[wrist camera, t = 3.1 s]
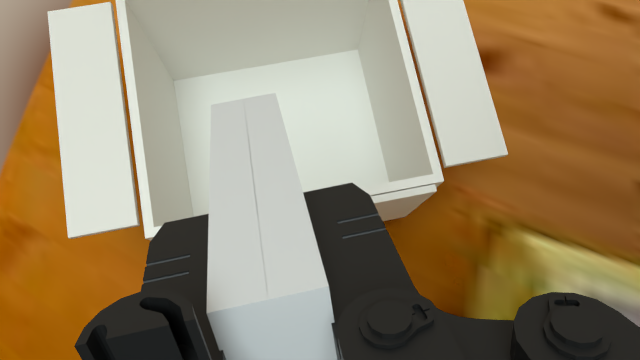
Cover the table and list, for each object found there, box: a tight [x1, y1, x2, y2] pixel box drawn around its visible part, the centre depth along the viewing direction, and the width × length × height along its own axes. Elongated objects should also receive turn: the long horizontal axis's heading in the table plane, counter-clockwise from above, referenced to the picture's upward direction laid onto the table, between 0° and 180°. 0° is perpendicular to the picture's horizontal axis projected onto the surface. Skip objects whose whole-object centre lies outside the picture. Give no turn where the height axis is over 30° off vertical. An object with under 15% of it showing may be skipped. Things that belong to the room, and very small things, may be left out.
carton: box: [48, 0, 508, 240], centre depth 34 cm, size 24×15×12 cm, turn 101°
